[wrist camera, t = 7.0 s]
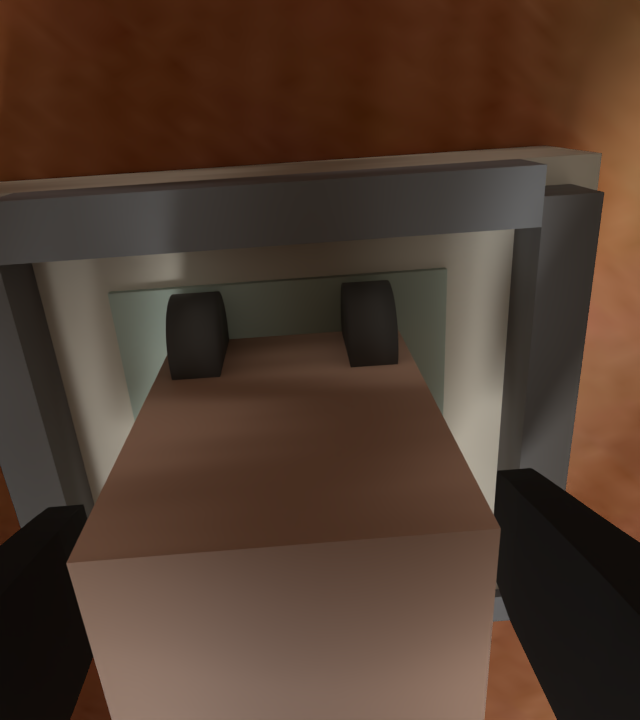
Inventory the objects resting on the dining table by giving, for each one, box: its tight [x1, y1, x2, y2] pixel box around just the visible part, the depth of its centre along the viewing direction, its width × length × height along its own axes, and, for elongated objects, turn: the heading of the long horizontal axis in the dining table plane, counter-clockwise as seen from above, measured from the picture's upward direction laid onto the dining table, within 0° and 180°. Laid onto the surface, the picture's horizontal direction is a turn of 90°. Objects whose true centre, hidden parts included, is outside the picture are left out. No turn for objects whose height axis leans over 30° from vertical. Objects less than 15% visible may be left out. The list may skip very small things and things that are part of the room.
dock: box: [0, 146, 604, 621], centre depth 13 cm, size 12×11×4 cm
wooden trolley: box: [66, 280, 501, 720], centre depth 10 cm, size 4×8×6 cm, turn 3°
